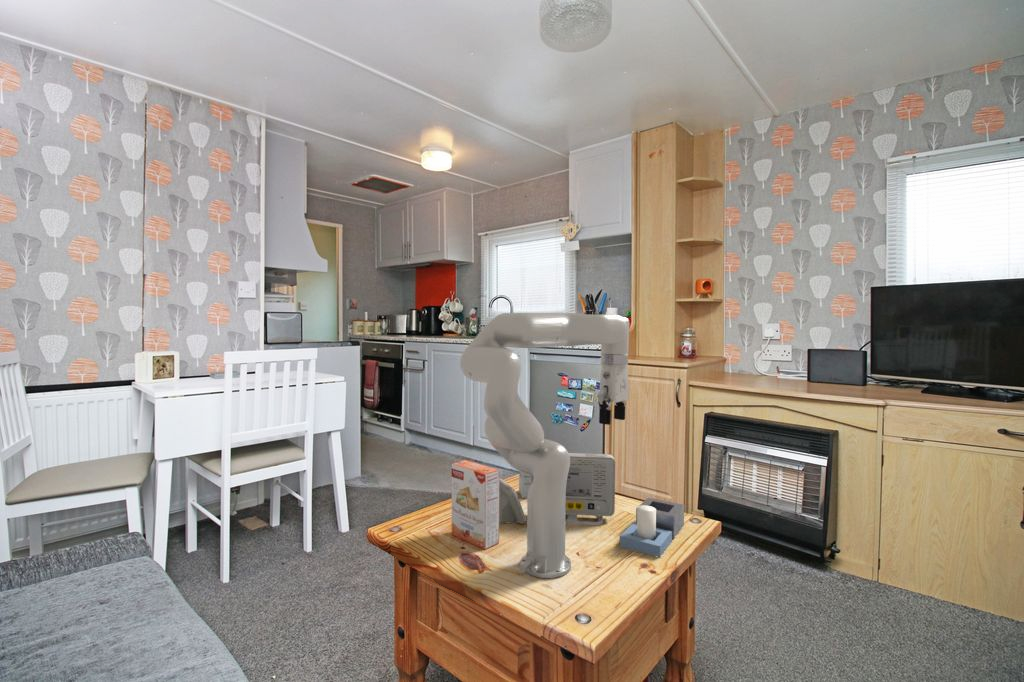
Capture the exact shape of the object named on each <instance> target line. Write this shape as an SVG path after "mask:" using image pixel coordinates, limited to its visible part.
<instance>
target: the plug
mask: <svg viewBox="0 0 1024 682" xmlns="http://www.w3.org/2000/svg"><path fill="white" fill-rule="evenodd" d="M636 508H637V537H640V538H644V539H648V540H652V541H655V540H656V508H654V507H652V506H647V505H642V506H639V505H638V506H637V507H636Z"/></svg>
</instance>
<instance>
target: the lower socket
mask: <svg viewBox="0 0 1024 682" xmlns="http://www.w3.org/2000/svg"><path fill="white" fill-rule="evenodd" d="M672 542H673V539H672V531H668V530H664V529H659V528H656V540H655V541H652V540H648V539H644V538H640V537H637V523H636V522H632V524H630V525H629V526H628V527H627V528H626V530H624V532H622V533H621V534H620V535H619V547H620V548H622V549H626V550H629V549H630V550H629V551H634V552H638V553H642V554H644V553H645V555H648V556H651V557H656V556H657V557H656V558H659V557H660V558H661V557H662V556H661V555H663V554H664V553H665V552H664V551H666V550H667V549H668V548H669V546H670V545H671V544H672ZM670 543H671V544H670ZM669 544H670V545H669ZM667 547H668V548H667Z"/></svg>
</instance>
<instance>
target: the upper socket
mask: <svg viewBox="0 0 1024 682" xmlns="http://www.w3.org/2000/svg"><path fill="white" fill-rule="evenodd" d="M642 505H647V506H652V507H654V508H656V528H659V529H664V530H668V531H672V538H673V539H672V540H675V539H676V537H677V536H678V535H679V533H680V532H681V531H682V529H683V528H684V527H685V504H682V503H677V502H672V501H667V500H662V499H656V498H652V497H647V498H646V499H645V500H643V502H642V503H641V504H639V505H638V506H642ZM635 509H636V510H635V523H637V507H636V508H635ZM683 526H684V527H683ZM682 527H683V528H682ZM681 528H682V529H681ZM680 530H681V531H680ZM679 531H680V532H679ZM678 532H679V533H678ZM677 534H678V535H677ZM676 535H677V536H676ZM675 536H676V537H675ZM674 538H675V539H674Z"/></svg>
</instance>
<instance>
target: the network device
mask: <svg viewBox="0 0 1024 682" xmlns="http://www.w3.org/2000/svg"><path fill="white" fill-rule="evenodd" d="M568 453H569V456H570V467H569V472H568V477H567V483H566V500H565V505H566V508H565V515H566V516H567V519H565V525H584V526H600V525H602V524H604V517H612V516H614V514H615V511H616V510H615V508H616V505H615V502H616V497H615V496H616V492H615V491H616V461H615V458H614V456H613V455H612V454H608V453H607V454H606V453H583V452H582V453H579V452H578V453H577V452H575V453H574V452H568ZM533 480H534V476H532V475H531V485H532V483H533ZM578 516H592V517H593V516H594V517H595V516H597V517H598V518H597V519H598V521H585V520H584V521H583V520H582V521H581V520H578Z"/></svg>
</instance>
